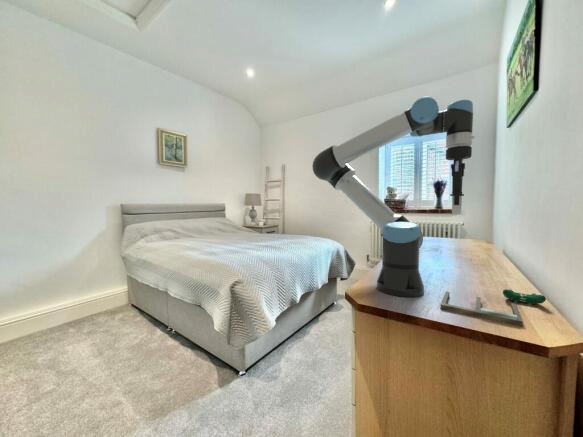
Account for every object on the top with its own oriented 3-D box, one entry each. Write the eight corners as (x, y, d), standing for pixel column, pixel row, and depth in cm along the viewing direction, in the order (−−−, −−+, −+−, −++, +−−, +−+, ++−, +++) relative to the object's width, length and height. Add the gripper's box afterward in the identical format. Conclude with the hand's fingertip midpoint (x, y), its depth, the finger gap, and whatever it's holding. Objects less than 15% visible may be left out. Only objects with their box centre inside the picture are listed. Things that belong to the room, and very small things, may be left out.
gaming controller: (546, 310, 68) (542, 304, 73) (546, 297, 68) (543, 291, 73) (502, 302, 74) (502, 296, 79) (503, 289, 74) (502, 285, 79)
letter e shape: (440, 309, 69) (440, 301, 69) (445, 295, 80) (445, 288, 80) (522, 327, 59) (522, 318, 59) (515, 309, 70) (516, 301, 69)
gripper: (471, 141, 79) (468, 215, 80) (472, 149, 89) (470, 214, 90) (444, 145, 83) (442, 214, 84) (447, 152, 93) (446, 213, 95)
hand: (456, 214), depth 87 cm, fingers closed
